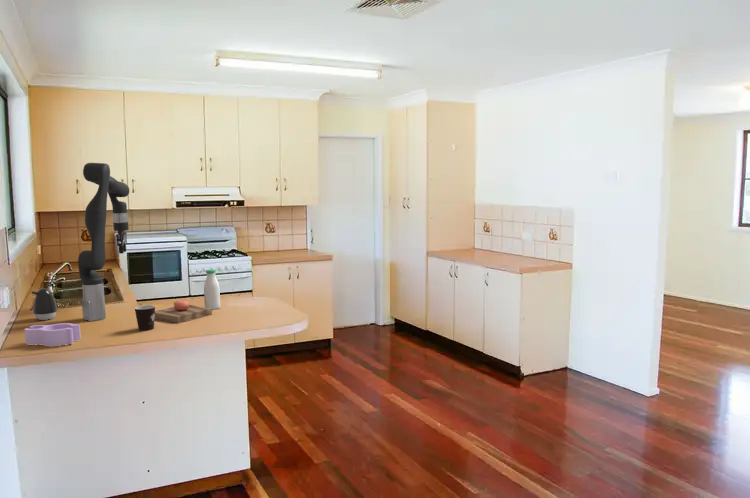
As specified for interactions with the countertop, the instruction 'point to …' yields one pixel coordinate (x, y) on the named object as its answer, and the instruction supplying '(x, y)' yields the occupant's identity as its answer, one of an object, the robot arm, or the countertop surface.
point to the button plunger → (181, 305)
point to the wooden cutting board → (182, 314)
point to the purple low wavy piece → (53, 334)
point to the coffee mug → (145, 317)
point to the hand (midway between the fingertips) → (122, 252)
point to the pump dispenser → (44, 305)
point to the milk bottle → (211, 290)
